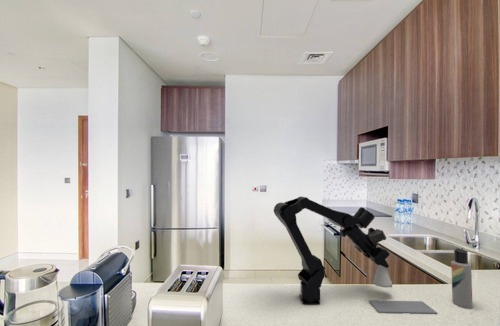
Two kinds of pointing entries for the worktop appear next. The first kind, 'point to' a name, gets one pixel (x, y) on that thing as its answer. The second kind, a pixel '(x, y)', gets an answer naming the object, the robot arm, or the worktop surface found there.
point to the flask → (382, 277)
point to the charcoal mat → (402, 307)
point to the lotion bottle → (461, 279)
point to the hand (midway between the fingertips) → (385, 265)
